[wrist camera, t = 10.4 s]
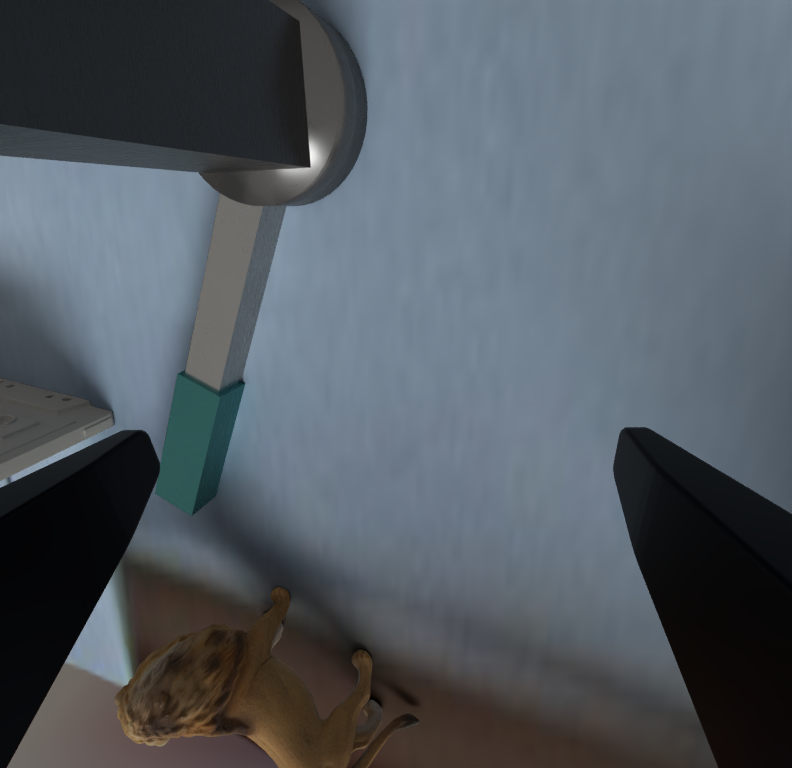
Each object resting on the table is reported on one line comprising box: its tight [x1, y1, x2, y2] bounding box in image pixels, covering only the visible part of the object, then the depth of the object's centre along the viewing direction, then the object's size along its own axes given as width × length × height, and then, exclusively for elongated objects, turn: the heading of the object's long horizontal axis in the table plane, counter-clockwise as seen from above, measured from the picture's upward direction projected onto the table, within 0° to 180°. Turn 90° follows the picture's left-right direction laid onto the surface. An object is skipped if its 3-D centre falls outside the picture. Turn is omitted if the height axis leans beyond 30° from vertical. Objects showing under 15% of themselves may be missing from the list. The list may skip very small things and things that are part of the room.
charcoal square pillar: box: [0, 0, 311, 173], centre depth 11 cm, size 4×4×13 cm
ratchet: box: [155, 0, 367, 516], centre depth 21 cm, size 7×24×5 cm, turn 159°
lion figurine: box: [114, 587, 420, 768], centre depth 26 cm, size 15×5×9 cm, turn 67°
